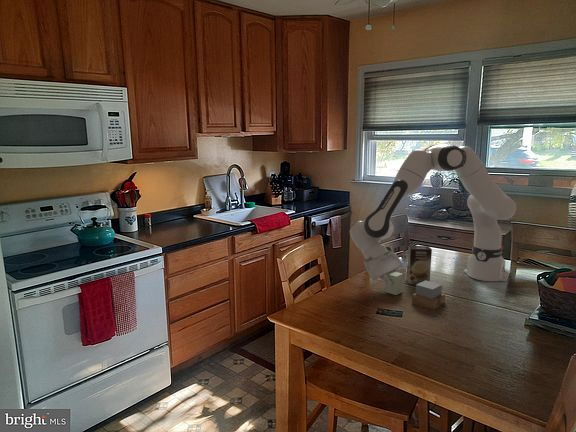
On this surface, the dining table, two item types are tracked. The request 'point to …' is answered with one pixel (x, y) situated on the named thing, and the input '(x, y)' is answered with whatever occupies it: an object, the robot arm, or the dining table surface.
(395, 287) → the sage block
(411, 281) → the coffee box
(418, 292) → the tower top
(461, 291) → the dining table surface
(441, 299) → the tower base
